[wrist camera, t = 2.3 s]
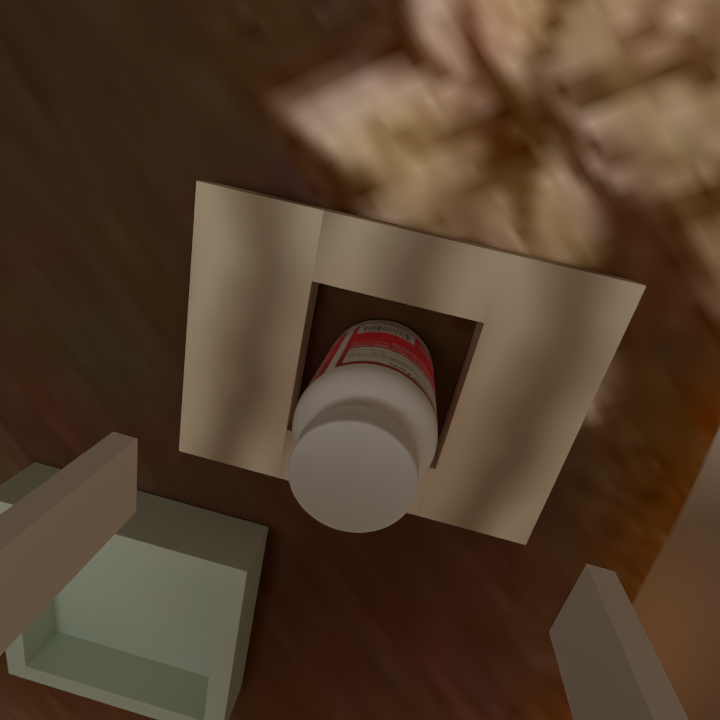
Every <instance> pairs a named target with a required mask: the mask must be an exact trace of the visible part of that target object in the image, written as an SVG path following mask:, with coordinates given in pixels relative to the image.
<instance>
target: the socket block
mask: <svg viewBox="0 0 720 720" xmlns="http://www.w3.org/2000/svg"><path fill="white" fill-rule="evenodd" d="M319 283H322V284H326V285H330V286H334V287H338V288H342V289H346V290H350V291H355V292H359V293H363V294H367V295H371V296H375V297H379V298H383V299H387V300H392V301H396V302H400V303H404V304H408V305H412V306H416V307H420V308H424V309H428V310H433V311H437V312H441V313H445V314H449V315H453V316H457V317H461V318H465V319H470V320H474V321H477V323H476V326H475V329H474V332H473V336H472V339H471V342H470V345H469V348H468V351H467V354H466V357H465V360H464V363H463V366H462V369H461V372H460V375H459V378H458V381H457V384H456V387H455V391H454V394H453V397H452V400H451V403H450V406H449V409H448V412H447V415H446V418H445V421H444V424H443V427H442V430H441V433H440V436H439V439H438V442H437V447H436V452H435V455H434V458H433V460H432V463H431V465H430V467H429V468H428V470H427V471H426V473H425V474H424V475H423V476H422V478H421V479H420V480H419V482H418V490H417V494H416V497H415V500H414V502H413V504H412V505H411V507H410V508H409V510H408V511H407V512H406V513H410V514H413V515H417V516H421V517H425V518H428V519H432V520H436V521H439V522H443V523H447V524H450V525H454V526H458V527H461V528H465V529H469V530H472V531H476V532H480V533H483V534H487V535H491V536H494V537H498V538H502V539H506V540H509V541H513V542H517V543H520V544H524V545H526V543H527V541H528V539H529V537H530V535H531V533H532V530H533V528H534V526H535V524H536V522H537V520H538V518H539V515H540V513H541V511H542V509H543V507H544V505H545V502H546V500H547V498H548V496H549V494H550V492H551V490H552V487H553V485H554V483H555V481H556V479H557V477H558V475H559V472H560V470H561V468H562V466H563V464H564V462H565V460H566V457H567V455H568V453H569V451H570V449H571V447H572V444H573V442H574V440H575V438H576V436H577V434H578V432H579V429H580V427H581V425H582V423H583V421H584V419H585V417H586V414H587V412H588V410H589V408H590V406H591V404H592V402H593V399H594V397H595V395H596V393H597V391H598V389H599V387H600V384H601V382H602V380H603V378H604V376H605V374H606V371H607V369H608V367H609V365H610V363H611V361H612V359H613V356H614V354H615V352H616V350H617V348H618V346H619V344H620V341H621V339H622V337H623V335H624V333H625V331H626V329H627V326H628V324H629V322H630V320H631V318H632V316H633V313H634V311H635V309H636V307H637V305H638V303H639V301H640V298H641V296H642V294H643V292H644V290H645V288H646V286H645V285H643V284H640V283H638V282H635V281H632V280H630V279H627V278H622V277H618V276H614V275H609V274H605V273H601V272H597V271H592V270H588V269H584V268H579V267H575V266H571V265H567V264H562V263H558V262H554V261H549V260H545V259H541V258H537V257H532V256H528V255H524V254H519V253H515V252H511V251H507V250H502V249H498V248H494V247H489V246H485V245H481V244H477V243H472V242H468V241H464V240H459V239H455V238H451V237H447V236H442V235H438V234H434V233H429V232H425V231H421V230H417V229H412V228H408V227H404V226H399V225H395V224H391V223H387V222H382V221H378V220H374V219H369V218H365V217H361V216H357V215H352V214H348V213H344V212H339V211H335V210H331V209H327V208H322V207H318V206H314V205H309V204H305V203H301V202H297V201H292V200H288V199H284V198H279V197H275V196H271V195H267V194H262V193H258V192H254V191H249V190H245V189H241V188H237V187H232V186H228V185H224V184H219V183H215V182H205V181H197V182H196V197H195V213H194V228H193V243H192V259H191V274H190V289H189V305H188V320H187V336H186V351H185V366H184V382H183V397H182V412H181V428H180V443H179V451H181V452H185V453H189V454H193V455H196V456H200V457H204V458H207V459H211V460H215V461H218V462H222V463H226V464H229V465H233V466H237V467H240V468H244V469H248V470H251V471H255V472H259V473H262V474H266V475H270V476H274V477H277V478H281V479H285V480H288V481H289V476H288V465H289V459H290V456H291V453H292V451H293V448H294V442H293V435H292V423H293V417H294V413H295V409H296V407H297V404H298V399H299V393H300V388H301V382H302V376H303V371H304V365H305V360H306V354H307V348H308V343H309V337H310V332H311V326H312V320H313V315H314V309H315V304H316V298H317V292H318V287H319Z"/></svg>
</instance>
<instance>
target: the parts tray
mask: <svg viewBox="0 0 720 720" xmlns="http://www.w3.org/2000/svg"><path fill="white" fill-rule="evenodd" d="M60 470H62V469H59V468H55V467H52V466H48V465H44V464H41V463H37V462H35V463H33V464H32V465H30V466H29V467H27V468H26V469H24V470H23V471H21V472H20V473H18V474H17V475H15V476H14V477H12V478H11V479H9V480H8V481H6V482H5V483H3V484H2V485H0V514H2V513H3V512H4V511H6V510H7V509H8V508H10V507H11V506H13V505H14V504H15V503H17V502H18V501H19V500H21V499H22V498H23V497H25V496H26V495H28V494H29V493H30V492H32V491H33V490H34V489H36V488H37V487H38V486H40V485H41V484H43V483H44V482H45V481H47V480H48V479H49V478H51V477H52V476H54V475H55V474H56V473H58V472H59V471H60ZM268 528H269V527H267V526H263V525H260V524H256V523H253V522H249V521H245V520H242V519H238V518H235V517H231V516H227V515H224V514H220V513H217V512H213V511H209V510H206V509H202V508H199V507H195V506H192V505H188V504H184V503H181V502H177V501H174V500H170V499H166V498H163V497H159V496H156V495H152V494H148V493H145V492H141V491H138V490H137V495H136V512H135V513H134V514H133V515H132V517H131V518H130V519H129V520H128V521H127V522H126V523H125V524H124V525H123V526H122V527H121V528H120V529H119V530H118V531H117V532H116V533H115V535H114V536H113V537H112V538H111V539H110V540H109V541H108V542H107V543H106V544H105V545H104V546H103V547H102V548H101V549H100V550H99V552H98V553H97V554H96V555H95V556H94V557H93V558H92V559H91V560H90V561H89V562H88V563H87V564H86V565H85V566H84V567H83V569H82V570H81V571H80V572H79V573H78V574H77V575H76V576H75V577H74V578H73V579H72V580H71V581H70V582H69V583H68V584H67V585H66V587H65V588H64V589H63V590H62V591H61V592H60V593H59V594H58V595H57V596H56V597H55V598H54V599H53V600H52V601H51V602H50V604H49V605H48V606H47V607H46V608H45V609H44V610H43V611H42V612H41V613H40V614H39V615H38V616H37V617H36V618H35V619H34V620H33V622H32V623H31V624H30V625H29V626H28V627H27V628H26V629H25V630H24V631H23V632H22V633H21V634H20V635H19V636H18V637H17V639H16V640H15V641H14V642H13V643H12V644H11V645H10V646H9V647H8V648H7V649H6V657H7V664H8V672H9V674H12V675H15V676H18V677H21V678H25V679H28V680H31V681H34V682H38V683H41V684H44V685H47V686H51V687H54V688H57V689H60V690H63V691H67V692H70V693H73V694H76V695H80V696H83V697H86V698H89V699H93V700H96V701H99V702H102V703H105V704H109V705H112V706H115V707H118V708H122V709H125V710H128V711H131V712H135V713H138V714H141V715H144V716H147V717H151V718H154V719H157V720H229V718H230V715H231V712H232V710H233V707H234V704H235V702H236V699H237V697H238V694H239V691H240V689H241V686H242V680H243V675H244V669H245V663H246V657H247V651H248V645H249V639H250V634H251V628H252V622H253V616H254V610H255V604H256V598H257V592H258V587H259V581H260V575H261V569H262V563H263V557H264V551H265V545H266V540H267V534H268Z"/></svg>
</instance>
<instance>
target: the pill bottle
mask: <svg viewBox="0 0 720 720" xmlns="http://www.w3.org/2000/svg"><path fill="white" fill-rule="evenodd" d="M292 435H293V442H294V448H293V451H292V453H291V456H290V459H289V465H288V476H289V483H290V486H291V489H292V492H293V494H294V496H295V498H296V499H297V501H298V502H299V504H300V505H301V506H302V508H303V509H304V510H305V511H306V512H307V513H308V514H309V515H311V516H312V517H313V518H315V519H316V520H317V521H319V522H321V523H323V524H325V525H327V526H329V527H331V528H334V529H337V530H341V531H346V532H355V533H364V532H371V531H377V530H379V529H383V528H385V527H388V526H390V525H391V524H393V523H395V522H396V521H398V520H399V519H400V518H401V517H402V516H403V515H404V514H405V513H406V512H407V511H408V510H409V508H410V507H411V505H412V504H413V502H414V500H415V497H416V494H417V490H418V482H419V480H420V479H421V478H422V476H423V475H424V474H425V473H426V471H427V470H428V468H429V467H430V465H431V463H432V460H433V458H434V455H435V452H436V447H437V440H438V423H437V409H436V396H435V381H434V369H433V363H432V359H431V355H430V353H429V350H428V348H427V347H426V345H425V343H424V342H423V341H422V340H421V338H420V337H419V336H418V335H417V334H416V333H415V332H413V331H412V330H411V329H409V328H408V327H406V326H404V325H402V324H399V323H397V322H393V321H389V320H369V321H365V322H362V323H359V324H357V325H354V326H353V327H351V328H349V329H348V330H346V331H345V332H344V333H343V334H342V335H341V336H340V337H339V338H338V339H337V341H336V342H335V343H334V345H333V346H332V348H331V349H330V351H329V353H328V354H327V356H326V357H325V359H324V361H323V362H322V364H321V366H320V367H319V369H318V370H317V372H316V374H315V375H314V377H313V378H312V380H311V381H310V383H309V385H308V386H307V388H306V389H305V391H304V393H303V394H302V396H301V398H300V400H299V402H298V404H297V407H296V409H295V413H294V417H293V423H292Z"/></svg>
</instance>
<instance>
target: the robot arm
mask: <svg viewBox="0 0 720 720" xmlns="http://www.w3.org/2000/svg"><path fill="white" fill-rule="evenodd" d="M136 495H137V438H133V437H130V436H126V435H123V434H119V433H116V432H112V433H111V434H109V435H108V436H107V437H105V438H104V439H103V440H101V441H100V442H99V443H97V444H96V445H94V446H93V447H92V448H90V449H89V450H88V451H86V452H85V453H84V454H82V455H81V456H79V457H78V458H77V459H75V460H74V461H73V462H71V463H70V464H69V465H67V466H66V467H64V468H63V469H62V470H60V471H59V472H58V473H56V474H55V475H54V476H52V477H51V478H49V479H48V480H47V481H45V482H44V483H43V484H41V485H40V486H38V487H37V488H36V489H34V490H33V491H32V492H30V493H29V494H28V495H26V496H25V497H23V498H22V499H21V500H19V501H18V502H17V503H15V504H14V505H13V506H11V507H10V508H8V509H7V510H6V511H4V512H3V513H2V514H0V656H1V654H2V653H3V652H4V651H5V650H6V649H7V648H8V647H9V646H10V645H11V644H12V643H13V642H14V641H15V640H16V639H17V637H18V636H19V635H20V634H21V633H22V632H23V631H24V630H25V629H26V628H27V627H28V626H29V625H30V624H31V623H32V622H33V620H34V619H35V618H36V617H37V616H38V615H39V614H40V613H41V612H42V611H43V610H44V609H45V608H46V607H47V606H48V605H49V604H50V602H51V601H52V600H53V599H54V598H55V597H56V596H57V595H58V594H59V593H60V592H61V591H62V590H63V589H64V588H65V587H66V585H67V584H68V583H69V582H70V581H71V580H72V579H73V578H74V577H75V576H76V575H77V574H78V573H79V572H80V571H81V570H82V569H83V567H84V566H85V565H86V564H87V563H88V562H89V561H90V560H91V559H92V558H93V557H94V556H95V555H96V554H97V553H98V552H99V550H100V549H101V548H102V547H103V546H104V545H105V544H106V543H107V542H108V541H109V540H110V539H111V538H112V537H113V536H114V535H115V533H116V532H117V531H118V530H119V529H120V528H121V527H122V526H123V525H124V524H125V523H126V522H127V521H128V520H129V519H130V518H131V517H132V515H133V514H134V513H135V512H136ZM549 633H550V637H551V640H552V644H553V648H554V651H555V655H556V659H557V662H558V666H559V669H560V673H561V677H562V680H563V684H564V688H565V691H566V695H567V699H568V702H569V706H570V709H571V713H572V717H573V720H688V718H687V716H686V714H685V712H684V710H683V708H682V706H681V704H680V702H679V700H678V698H677V696H676V694H675V692H674V690H673V688H672V686H671V684H670V682H669V680H668V678H667V676H666V674H665V672H664V670H663V668H662V666H661V664H660V662H659V660H658V658H657V656H656V654H655V652H654V650H653V648H652V646H651V644H650V642H649V640H648V638H647V636H646V634H645V631H644V629H643V627H642V625H641V624H640V621H639V620H638V618H637V615H636V613H635V611H634V609H633V607H632V605H631V603H630V601H629V599H628V597H627V595H626V593H625V591H624V589H623V587H622V585H621V583H620V581H619V579H618V577H617V575H616V573H615V572H614V571H611V570H607V569H603V568H600V567H596V566H593V565H589V564H586V566H585V568H584V569H583V571H582V573H581V575H580V577H579V578H578V580H577V582H576V584H575V586H574V587H573V589H572V591H571V593H570V595H569V596H568V598H567V600H566V602H565V604H564V605H563V607H562V609H561V611H560V613H559V615H558V616H557V618H556V620H555V622H554V624H553V625H552V627H551V629H550V631H549Z"/></svg>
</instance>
